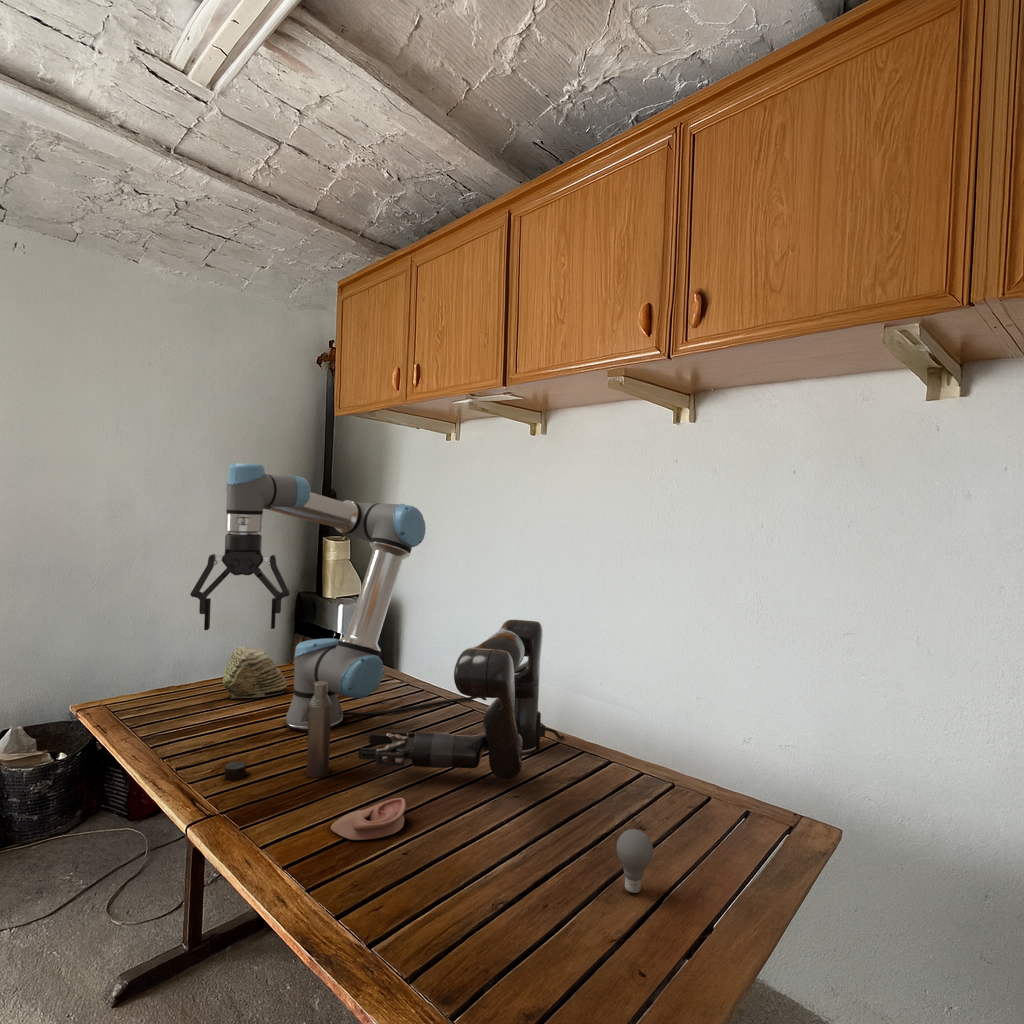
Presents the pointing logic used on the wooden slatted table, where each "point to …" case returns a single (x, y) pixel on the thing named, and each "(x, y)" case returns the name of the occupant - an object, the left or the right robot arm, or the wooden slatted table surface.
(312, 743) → the bottle
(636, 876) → the light bulb
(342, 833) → the anatomical model
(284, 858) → the wooden slatted table surface
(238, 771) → the cap
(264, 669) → the fossil
